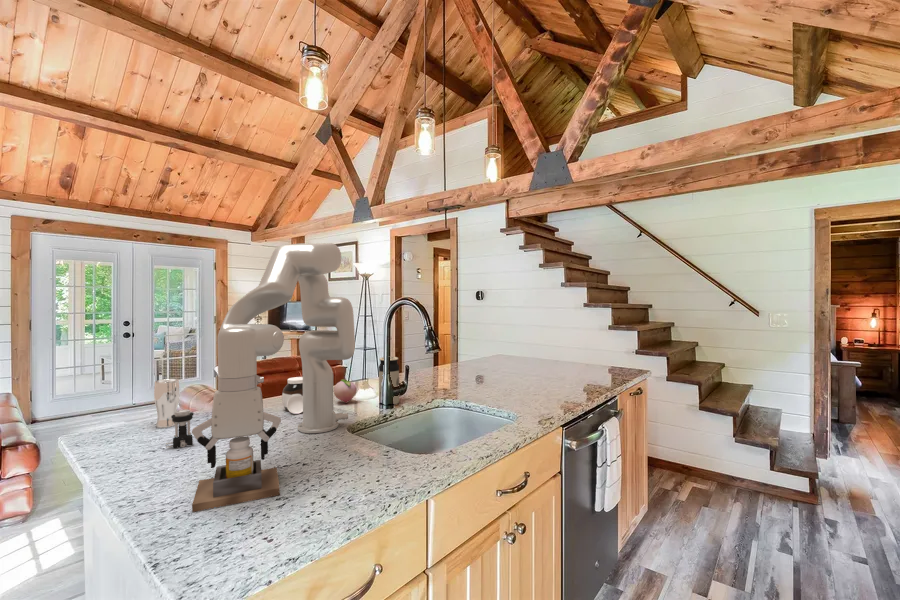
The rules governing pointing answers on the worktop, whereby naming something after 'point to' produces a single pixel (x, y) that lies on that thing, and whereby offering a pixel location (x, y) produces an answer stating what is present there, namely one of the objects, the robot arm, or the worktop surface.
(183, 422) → the push button
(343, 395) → the decorative fruit
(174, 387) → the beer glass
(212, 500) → the collar board
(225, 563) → the worktop surface
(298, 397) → the spread jar
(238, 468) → the supplement bottle
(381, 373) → the travel mug
